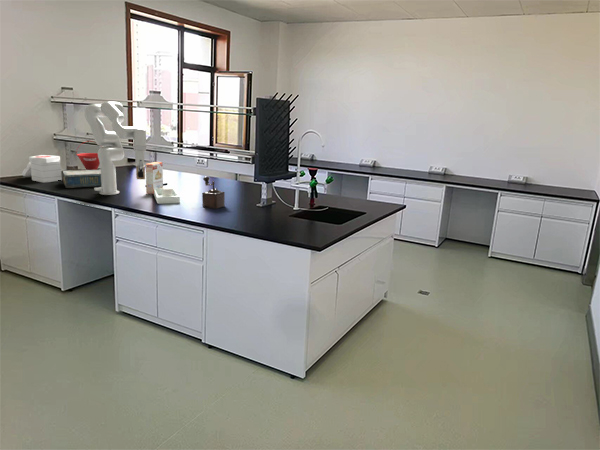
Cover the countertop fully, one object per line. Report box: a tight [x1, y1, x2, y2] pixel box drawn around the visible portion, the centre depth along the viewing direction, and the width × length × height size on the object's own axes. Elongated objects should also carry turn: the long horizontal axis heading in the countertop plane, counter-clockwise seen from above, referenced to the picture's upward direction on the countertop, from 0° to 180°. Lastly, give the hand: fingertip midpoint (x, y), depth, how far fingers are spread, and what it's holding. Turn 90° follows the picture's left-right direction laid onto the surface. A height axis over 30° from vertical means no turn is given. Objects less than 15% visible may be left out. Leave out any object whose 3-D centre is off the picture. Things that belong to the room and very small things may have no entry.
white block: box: [162, 187, 173, 197], centre depth 296 cm, size 6×6×8 cm
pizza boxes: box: [21, 154, 63, 183], centre depth 353 cm, size 19×30×18 cm, turn 58°
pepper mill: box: [201, 176, 226, 210], centre depth 291 cm, size 16×11×18 cm
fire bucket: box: [75, 140, 103, 170], centre depth 365 cm, size 22×20×30 cm
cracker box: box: [145, 161, 164, 195], centre depth 324 cm, size 14×6×21 cm, turn 168°
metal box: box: [61, 168, 101, 189], centre depth 342 cm, size 21×32×10 cm, turn 121°
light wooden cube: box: [135, 165, 146, 180], centre depth 296 cm, size 5×5×8 cm
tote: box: [153, 187, 181, 205], centre depth 304 cm, size 14×30×5 cm, turn 22°
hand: (140, 176), depth 296 cm, fingers closed on light wooden cube, 5 cm apart
